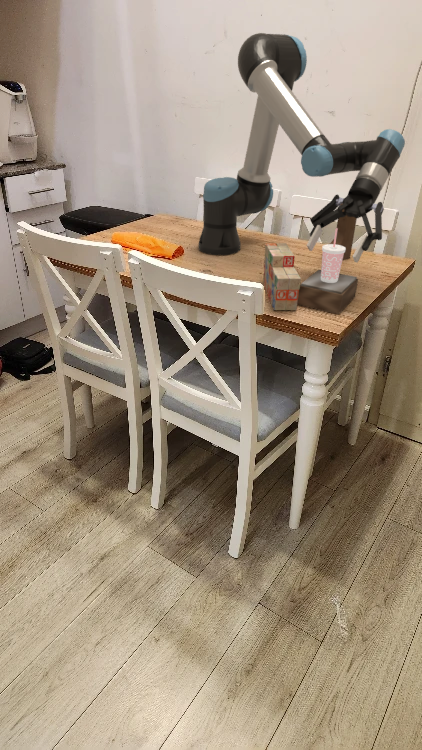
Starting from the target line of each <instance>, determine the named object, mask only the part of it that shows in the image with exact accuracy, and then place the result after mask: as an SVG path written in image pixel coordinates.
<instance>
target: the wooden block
mask: <svg viewBox="0 0 422 750" xmlns="http://www.w3.org/2000/svg"><path fill="white" fill-rule="evenodd" d="M341 205H342V204H340V206H341ZM342 212H344V209H343V210H342ZM357 219H358V218H355V217H348V216H347V215H346V216H345V217H341V218H339V219H337V223H336V228H338V230H337V236H336V243H335V244H336V245H341V246H344V247H345V248H346V250H345V252H344V255H343V259H342V261H344V260H350V259H351V256H352V255H351V253H352V249H353V243H354V237H355V232H356V231H355V230H356V224H357ZM329 244H334V238H333V239H332V240H331V242H329ZM322 255H323V253H322V254H321V256H322Z"/></svg>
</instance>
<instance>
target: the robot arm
mask: <svg viewBox="0 0 422 750" xmlns="http://www.w3.org/2000/svg"><path fill="white" fill-rule="evenodd" d="M307 57H308V56H307V51H306V49H305V46H304V44H303V42H302V41H301V40H300V39H299V38H298V37H297V36H292V35H289V34H283V33H282V34H280V33H275V34H274V33H264V32H259V33H255V34H254V33H253V34H252V35H250V36H249V37H248V38H246V39H245V40H244V41H243V44H241V47H240V49H239V52H238V55H237V67H238V73H239V74H240V75H239V76H240V77H241V79H242V81H243V83H244V84H245V86H246V87H247V88H248V90H249V91H250V92H251V93H256V94H257V98H256V102H255V103H256V104H255V108H254V114H253V118H252V122H251V128H250V132H249V133H250V134H249V138H248V143H247V148H246V153H245V157H244V163H243V167H242V168H240V169H239V170H238V172H237V175H236V178H235V177H230V176H228V177H227V176H226V177H224V176H223V177H216V178H213V179H211V180H208V181H206V182H205V184H204V186H203V195H202V198H203V228H202V229H201V234H200V236H199V240H198V251H200V252H202V254H207V255H212V256H213V255H214V256H227V255H234V254H238V253H239V252H240V251H241V248H242V247H241V244H242V243H241V240H240V236H239V232H238V228H237V223H238V219H237V218H238V217H241V216H246V215H247V216H248V215H251V214H258V213H259V212H263V211H265V210H266V209H267V208H268V207H269V206H270V205H271V203H272V201H273V197H274V189H273V184H272V182H271V175H269V168H270V164H271V159H272V156H273V152H274V147H275V143H276V139H277V134H278V130H279V126H280V127H281V129H282V130H283V132H285V135H286V136H287V137H288V139H290V141H291V142H292V144H293V145H294V146H295V148H296V149H297V151H298V152H299V154H300V155H301V157H300V165H301V167H302V168H301V169H302V171H303V173H305V175H307V176H308V177H313V178H314V177H315V178H316V177H325V176H329V175H334V174H342V173H349V172H358V173H357V175H356V177H355V179H354V181H353V183H352V185H351V186H350V188H349V191H348V193H347V196H345V197H344V198H343V197H340V194H335V195H334V196H333V198H332V199H331V201H329V203H327V204H326V205H325V206H324V207H322V208H321V209H320V210H319V211H317V213H315V214H314V215H313V216H312V217H310V219H309V221H310V222H311V224H312V227H313V228H312V229H311V230H310V233H309V237H310V238H309V239H308V241H307V244H306V247H307V250H308V251H310V252H312V251H313V250H314V248H315V246H316V244H317V242H318V241H319V239H320V237H321V235H322V234H323V229H324V228H325V227H327V226H329V225H330V224H332V223H333V222H336V221H338V219H339V218H341V217H345V216H346V215H347V216H348V217H355V218H357V219H359V218H362V223H363V225H364V227H365V230H366V233H367V234H363V236H362V238H361V239H360V241H359V243H358V244H357V247H356V249H355V251H354V253H353V254H352V255H351V256H352V259H353V262H354V263H359V261H360V260H361V259H360V258H361V257H362V254H363V253H364V251H365V252H367V251H368V250H369V248H370V246H371V244H372V243H373V241H375V240H378V241H381V240H382V239H383V225H382V224H383V223H382V222H383V220H382V219H383V217H382V214H383V213H384V210H385V208H384V205H383V202H382V201H379V202H378V203H376V201H377V199H378V197H379V195H380V193H381V191H382V190H383V188H384V186H385V184H386V183H387V180H388V179H389V177H390V174H391V172H392V171H393V169H394V167H395V165H396V164H397V162H398V160H399V159H400V157H401V154H402V152H403V149H404V147H405V145H406V141H405V137H404V135H402V134H401V133H400V132H399V131H397V130H396V129H391V128H388V129H384V130H383V131H380V133H379V134H378V135H377V136H376V139H374V140H373V139H372V140H366V141H345V142H340V143H331V141H329V139H328V138H327V137H326V135H325V134H324V133H323V131H322V130H321V128H319V126H318V125H317V123H316V121H314V120H313V118H312V117H311V115H310V114H309V112H308V111H307V109H306V108H305V107H304V106H303V104H302V103H301V102H300V100H299V99H298V98H297V96H296V95H295V93H294V92H293V89H294V84H295V82H297V81H298V80H299V79H300V78H301V77H303V75H304V73H305V71H306V67H307V64H308V63H307V62H308V61H307ZM340 204H342V205H341V206H340ZM343 209H344V212H342V210H343ZM372 210H373V211H374V218H375V219H374V222H375V223H374V224H375V226H374V229H375V232H373V231H372V228H371V225H370V222H369V217H368V213H370V212H371V211H372Z"/></svg>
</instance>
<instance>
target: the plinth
mask: <svg viewBox="0 0 422 750" xmlns="http://www.w3.org/2000/svg"><path fill="white" fill-rule="evenodd" d="M358 282H359V278H358V276H354V275H349V274H343V273H339V277H338V281H337V282H335V283H327V282H323V281H322V280H321V269H318V270H316V271H315V272H313V274H311V275H310V276H309V277H307V278H306V279H305V280H304V281H302V282H300V289H299V294H298V300H297V304H298V305H297V306H303V307H307V308H310V309H314V308H315V309H316V310H319V311H324V312H327V313H332V314H336V315H340V314H341V313H342V312H343V311H344V310H345V309H346V308H347V307H348V305H350V303H352V301H353V300H354V299H355V298H356V296H357V295H356V293H357V289H358Z"/></svg>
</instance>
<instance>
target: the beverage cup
mask: <svg viewBox="0 0 422 750" xmlns="http://www.w3.org/2000/svg"><path fill="white" fill-rule="evenodd" d="M337 230H338V228H337V227H336V228H335V230H334V237H333V239H334V244H330V243H328V244H323V245H321V247H322V248H321V251H322V254H323V255H322V254H321V258H322V259H321V269H320V270H321V280H322V281H323V282H327V283H335V282H337V281H338V277H339V274H341V273H340V272H341V268H342V264H343V263H342V262H343V260H344V259H343V255H344V252H345V250H346V248H345V247H344V246H341V245H336V244H335V243H336V236H337ZM342 259H343V260H342Z"/></svg>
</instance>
